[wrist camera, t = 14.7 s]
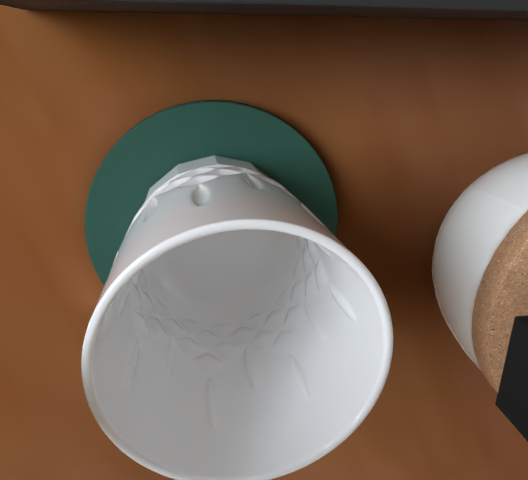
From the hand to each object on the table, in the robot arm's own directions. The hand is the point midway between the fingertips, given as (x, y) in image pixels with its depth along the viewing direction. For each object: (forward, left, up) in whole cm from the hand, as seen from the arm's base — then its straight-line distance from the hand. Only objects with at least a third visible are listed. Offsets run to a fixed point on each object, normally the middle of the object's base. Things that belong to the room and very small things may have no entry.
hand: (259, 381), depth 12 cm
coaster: (0, 0, -11) cm, 11 cm away
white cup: (0, 0, -11) cm, 11 cm away
